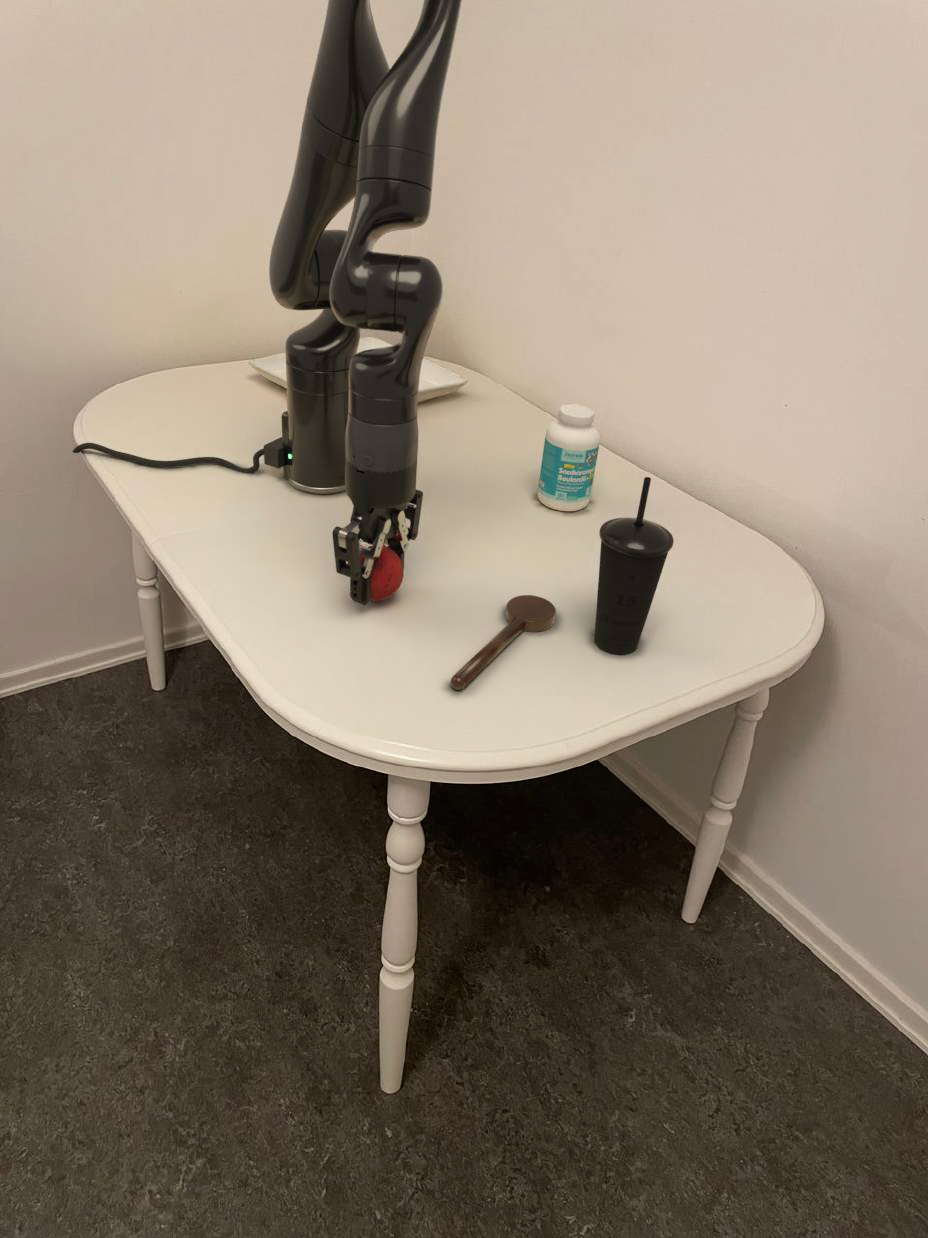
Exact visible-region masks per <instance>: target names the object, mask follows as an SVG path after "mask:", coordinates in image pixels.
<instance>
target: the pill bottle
mask: <svg viewBox="0 0 928 1238" xmlns="http://www.w3.org/2000/svg"><path fill="white" fill-rule="evenodd" d="M557 416H558V419H557V420H555V421H553V422H551V423H550V424H549V425H548V427H546V431H545V437H544V446H543V451H542V458H541V464H540V472H539V479H538V485H537V493H536V494H537V499H538V501H540V503H541V504H542V505H544V506H546V507H548V508H549V509H552V510H555V511H561V512H575V511H580V510H582V509H584V508H586V507H587V506H588V505H589V503H590V500H591V495H592V490H593V484H594V479H595V478H594V477H595V472H596V466H597V461H598V455H599V449H600V445H601V444H600V443H601V433H600V431H599V429H598V428H597V427H596V426H595V425H594V424H593V422H594V420H595V419H594V418H595V411H594V410H593V409H592V408H591V407H589V406H586V405H582V404H577V403H567V404H563V405H561V406H560V407H559V410H558V415H557Z"/></svg>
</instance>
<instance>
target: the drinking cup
mask: <svg viewBox="0 0 928 1238" xmlns="http://www.w3.org/2000/svg"><path fill="white" fill-rule="evenodd" d="M651 482H652V478H651V477H649V476H645V477H644V478H643V483H642V488H641V494H640V499H639V504H638V507H637V508H638V509H637V513H636V517H617V518H612V519H609V520H606V521H605V522H604V523H602V525H601V526H600V527H599V531H598V532H599V533H598V535H599V539H600V553H599V554H600V555H599V568H598V581H597V594H596V595H597V597H596V610H595V624H594V625H595V626H594V639H593V640H594V643H595V646H597V647H598V648H599V649H600V650H602V651H604V652H606V653H608V654H611V655H617V656H626V655H630V654H633V653H634V652H635V651H636V650H637V649H638V648H639V647H638V646H639V644H640V640H641V637H642V633H643V631H644V628H645V625H646V621H647V619H648V616H649V613H650V610H651V606H652V604H653V600H654V597H655V594H656V590H657V588H658V586H659V585H658V584H659V581H660V578H661V576H662V572H663V569H664V566H665V563H666V560H667V557H668V554H669V552H670V551H671V550H672V549H673V547H674V542H675V540H674V536H673V534H672V533H671V531H670V530H668V529H667V528H665V526H662V525H661V524H658V523H656V522H654V521H651V520H647V519H644V518H645V512H646V507H647V503H648V502H647V501H648V497H649V491H650V486H651Z"/></svg>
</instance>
